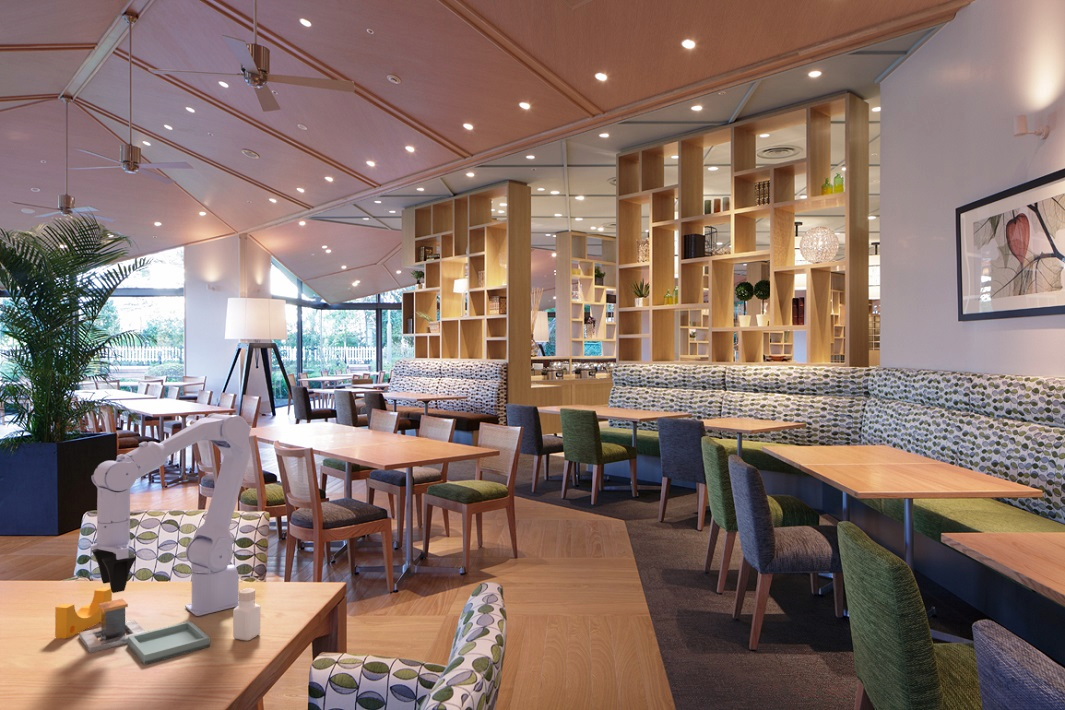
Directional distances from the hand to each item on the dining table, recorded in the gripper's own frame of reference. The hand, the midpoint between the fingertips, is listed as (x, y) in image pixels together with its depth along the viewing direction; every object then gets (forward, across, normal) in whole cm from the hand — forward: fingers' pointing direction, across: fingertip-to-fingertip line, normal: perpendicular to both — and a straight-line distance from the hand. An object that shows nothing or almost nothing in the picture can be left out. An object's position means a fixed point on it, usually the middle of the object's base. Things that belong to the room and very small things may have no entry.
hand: (113, 586), depth 140 cm
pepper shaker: (+11, +18, +20) cm, 29 cm away
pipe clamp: (+11, -11, -4) cm, 16 cm away
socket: (+10, 0, 0) cm, 10 cm away
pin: (+10, 0, 0) cm, 10 cm away
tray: (+10, +12, +7) cm, 17 cm away
